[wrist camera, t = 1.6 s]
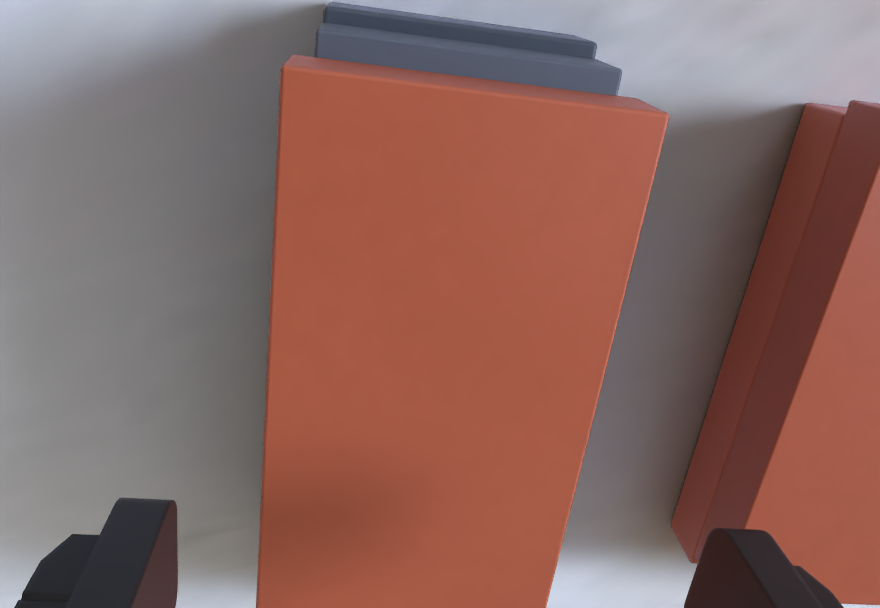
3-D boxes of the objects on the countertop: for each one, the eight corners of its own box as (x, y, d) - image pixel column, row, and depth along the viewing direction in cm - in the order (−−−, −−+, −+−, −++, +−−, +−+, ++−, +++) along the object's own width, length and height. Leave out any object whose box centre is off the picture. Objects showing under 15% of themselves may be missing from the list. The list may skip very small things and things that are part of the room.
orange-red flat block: (809, 88, 17) (897, 112, 14) (1044, 120, 18) (1173, 149, 15) (669, 525, 22) (714, 608, 19) (858, 535, 23) (928, 616, 20)
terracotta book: (290, 53, 13) (279, 64, 11) (639, 98, 13) (671, 114, 12) (262, 606, 18) (253, 663, 16) (519, 614, 18) (531, 669, 17)
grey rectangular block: (328, 1, 16) (317, 9, 12) (576, 35, 16) (627, 52, 13) (292, 536, 21) (278, 638, 18) (477, 544, 22) (496, 645, 19)
